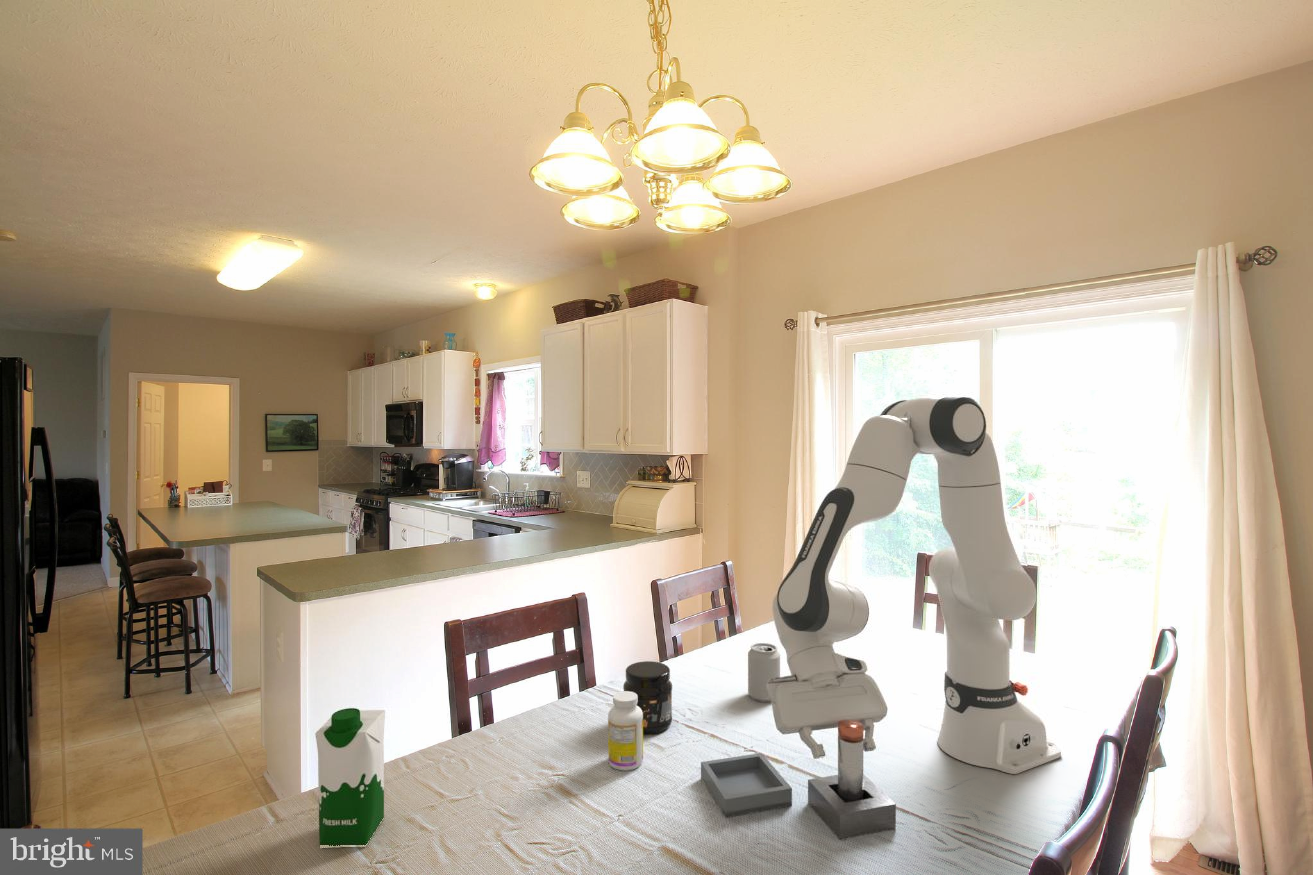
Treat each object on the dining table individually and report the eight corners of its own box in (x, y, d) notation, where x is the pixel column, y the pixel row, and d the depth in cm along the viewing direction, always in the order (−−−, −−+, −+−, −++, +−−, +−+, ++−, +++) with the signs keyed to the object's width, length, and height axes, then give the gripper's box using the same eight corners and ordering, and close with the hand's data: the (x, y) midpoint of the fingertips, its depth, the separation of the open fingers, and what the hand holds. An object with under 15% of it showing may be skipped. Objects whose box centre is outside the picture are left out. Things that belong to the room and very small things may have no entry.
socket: (859, 793, 110) (859, 770, 110) (895, 828, 101) (895, 803, 101) (807, 802, 108) (807, 779, 108) (839, 839, 98) (839, 814, 98)
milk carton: (310, 853, 95) (308, 721, 95) (338, 816, 104) (337, 695, 104) (369, 851, 95) (368, 720, 95) (392, 815, 104) (391, 694, 104)
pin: (854, 806, 107) (854, 718, 106) (868, 820, 103) (868, 729, 102) (833, 810, 105) (833, 721, 105) (846, 824, 102) (846, 732, 101)
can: (779, 704, 146) (779, 653, 145) (747, 702, 147) (747, 650, 147) (780, 691, 153) (780, 642, 153) (748, 689, 154) (748, 640, 154)
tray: (761, 768, 118) (761, 752, 118) (791, 805, 107) (791, 788, 107) (701, 778, 115) (700, 761, 115) (725, 817, 104) (725, 799, 104)
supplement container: (613, 724, 136) (613, 668, 136) (648, 708, 144) (648, 656, 144) (647, 741, 129) (646, 682, 129) (682, 724, 136) (682, 668, 136)
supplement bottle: (624, 750, 125) (624, 685, 125) (650, 761, 121) (650, 694, 121) (601, 764, 120) (600, 696, 120) (626, 776, 116) (626, 706, 116)
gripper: (768, 670, 109) (795, 755, 100) (872, 660, 115) (906, 739, 105) (757, 686, 114) (782, 768, 104) (858, 675, 119) (889, 752, 110)
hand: (845, 753), depth 105 cm, fingers open, 8 cm apart
